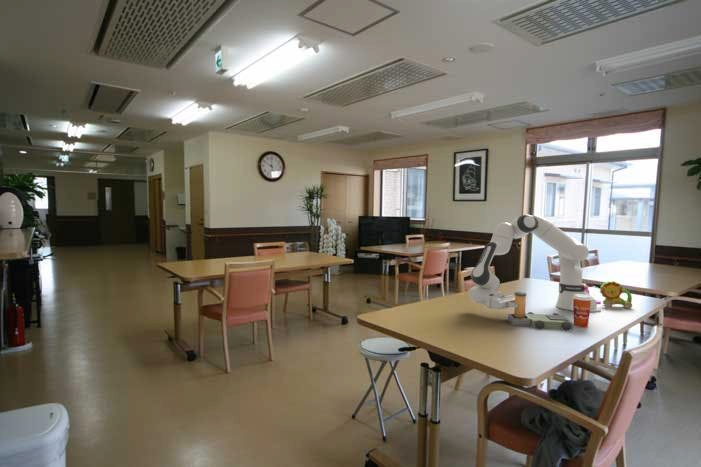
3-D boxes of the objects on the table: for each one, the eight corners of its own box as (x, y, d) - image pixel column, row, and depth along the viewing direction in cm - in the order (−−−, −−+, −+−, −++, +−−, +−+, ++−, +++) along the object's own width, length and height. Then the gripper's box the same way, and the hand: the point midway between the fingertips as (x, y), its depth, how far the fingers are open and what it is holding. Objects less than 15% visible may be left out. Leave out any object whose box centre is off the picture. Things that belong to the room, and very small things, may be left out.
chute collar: (526, 321, 198) (526, 314, 198) (531, 326, 189) (531, 319, 189) (507, 320, 200) (507, 313, 199) (512, 325, 191) (512, 318, 190)
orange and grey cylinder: (521, 318, 197) (522, 291, 196) (527, 321, 192) (528, 294, 191) (511, 319, 197) (512, 291, 196) (517, 322, 191) (518, 294, 190)
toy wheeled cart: (561, 321, 199) (561, 313, 198) (573, 330, 183) (574, 322, 183) (524, 319, 201) (524, 311, 201) (533, 328, 186) (533, 320, 186)
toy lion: (628, 306, 229) (630, 281, 228) (632, 309, 224) (633, 283, 223) (598, 304, 234) (599, 279, 233) (600, 306, 229) (602, 281, 228)
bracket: (577, 299, 247) (577, 288, 247) (583, 298, 249) (584, 288, 248) (596, 304, 235) (596, 293, 234) (602, 303, 237) (603, 292, 236)
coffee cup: (571, 326, 190) (573, 296, 189) (570, 322, 197) (572, 293, 196) (591, 329, 186) (593, 298, 185) (590, 324, 193) (591, 295, 192)
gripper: (507, 302, 211) (532, 308, 199) (485, 308, 198) (510, 314, 187) (508, 291, 210) (532, 296, 199) (485, 296, 198) (510, 301, 187)
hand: (521, 305), depth 193 cm, fingers closed on orange and grey cylinder, 5 cm apart
